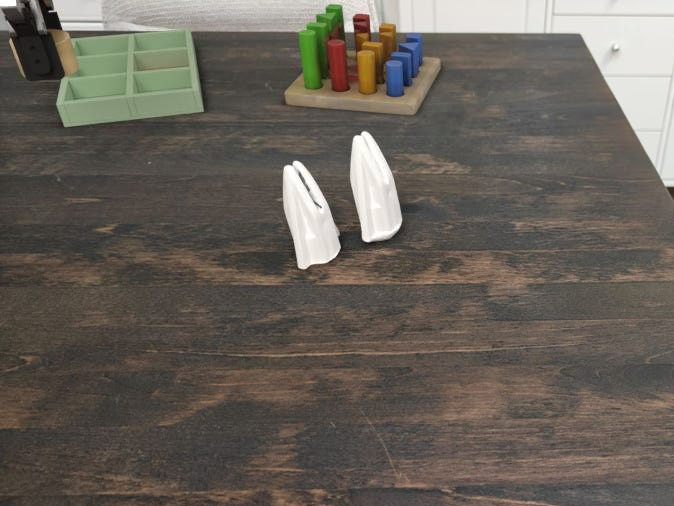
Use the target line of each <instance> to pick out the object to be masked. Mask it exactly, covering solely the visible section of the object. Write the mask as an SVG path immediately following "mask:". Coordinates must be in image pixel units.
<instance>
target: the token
mask: <svg viewBox="0 0 674 506" xmlns="http://www.w3.org/2000/svg"><path fill="white" fill-rule="evenodd" d="M46 30H47V32H50V31H51V33H52V36H53V39H54V42H55V45H56V48H57V51H58V54H59V57H60V60H61V63H62V66H63V69H64V72H65V76H64V77H67V76H70V75H72V74H74V73H76V72H77V71H78V70H79V63H78V60H77V57H76V54H75V51H74V48H73V45H72V42H71V39H72V38H71V36H70V34H69V32H67V31H65V30H57V29H46ZM8 41H9V42H8V43H9V45H10V47H11V50H12V53H13V55H14V56H13V57H14V59H15V61H16V64H17V66H18V70H19V73H20V74H21V76H22V77H23V78H25V79H26V77H25V74H24V72H23V69H22V66H21V64H20V61H19V58H18V56H17V53H16V50H15V47H14V45H13V42H12V39H11V38H9V40H8Z"/></svg>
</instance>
